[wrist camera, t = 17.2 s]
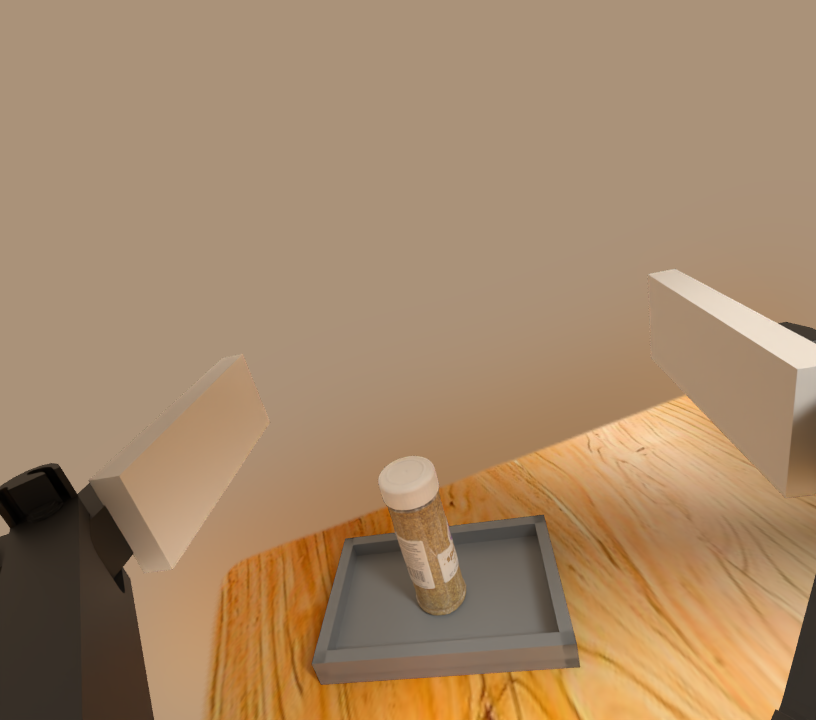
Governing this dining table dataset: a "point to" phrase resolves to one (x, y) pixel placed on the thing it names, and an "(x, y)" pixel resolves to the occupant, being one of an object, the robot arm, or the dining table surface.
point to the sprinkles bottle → (423, 533)
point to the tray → (461, 629)
